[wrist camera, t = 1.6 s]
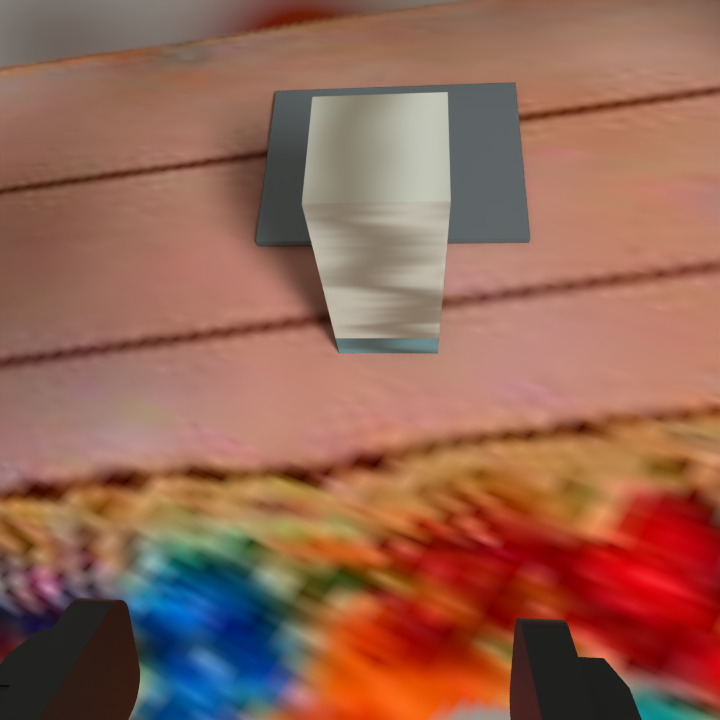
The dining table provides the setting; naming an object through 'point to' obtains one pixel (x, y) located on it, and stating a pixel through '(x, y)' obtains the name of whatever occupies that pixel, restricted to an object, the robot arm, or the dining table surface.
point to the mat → (467, 164)
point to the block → (380, 216)
